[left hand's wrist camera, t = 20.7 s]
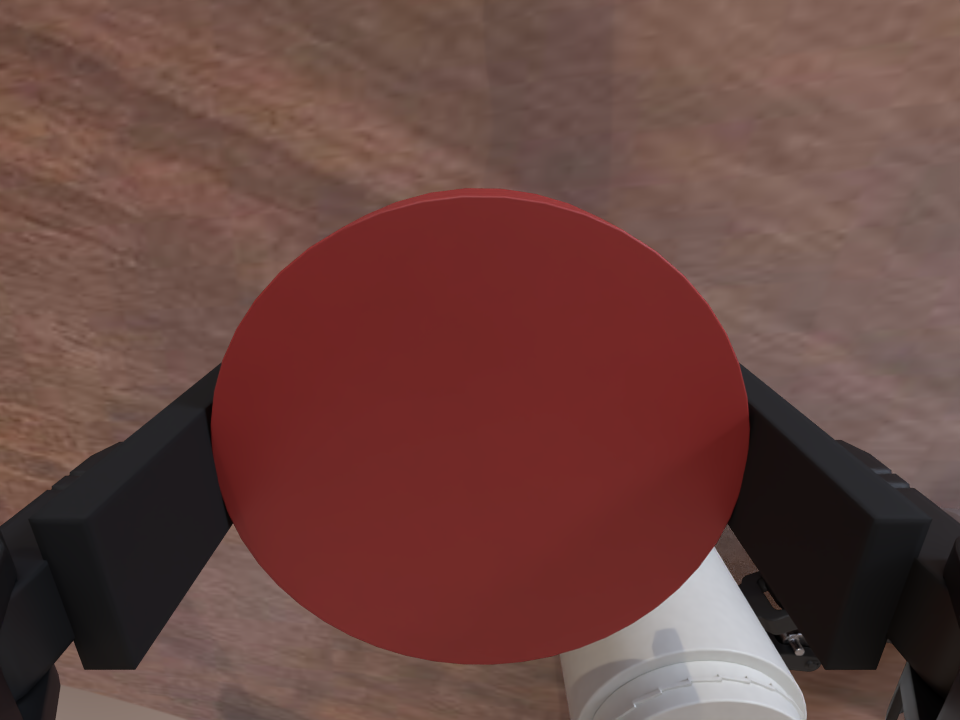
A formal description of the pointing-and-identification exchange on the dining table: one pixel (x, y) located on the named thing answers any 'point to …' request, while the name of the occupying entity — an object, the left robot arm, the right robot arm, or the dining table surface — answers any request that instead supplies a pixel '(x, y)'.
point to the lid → (480, 428)
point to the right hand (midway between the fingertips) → (549, 557)
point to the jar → (686, 661)
